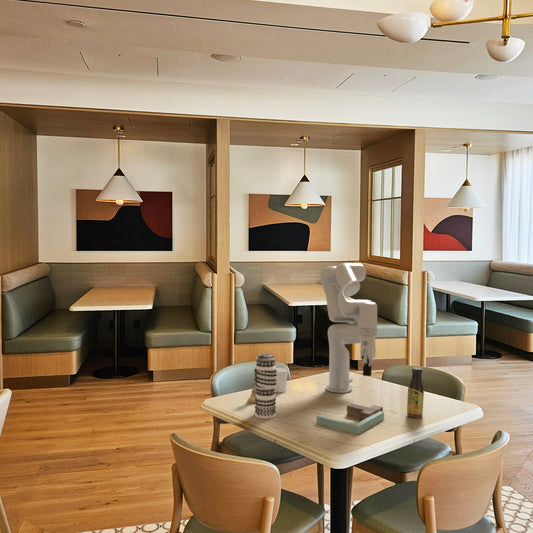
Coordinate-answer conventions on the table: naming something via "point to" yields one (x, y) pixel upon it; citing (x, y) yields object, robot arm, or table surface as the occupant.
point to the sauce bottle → (415, 394)
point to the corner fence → (349, 426)
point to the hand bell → (253, 395)
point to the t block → (362, 411)
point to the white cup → (281, 380)
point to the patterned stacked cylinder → (265, 386)
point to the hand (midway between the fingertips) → (367, 375)
